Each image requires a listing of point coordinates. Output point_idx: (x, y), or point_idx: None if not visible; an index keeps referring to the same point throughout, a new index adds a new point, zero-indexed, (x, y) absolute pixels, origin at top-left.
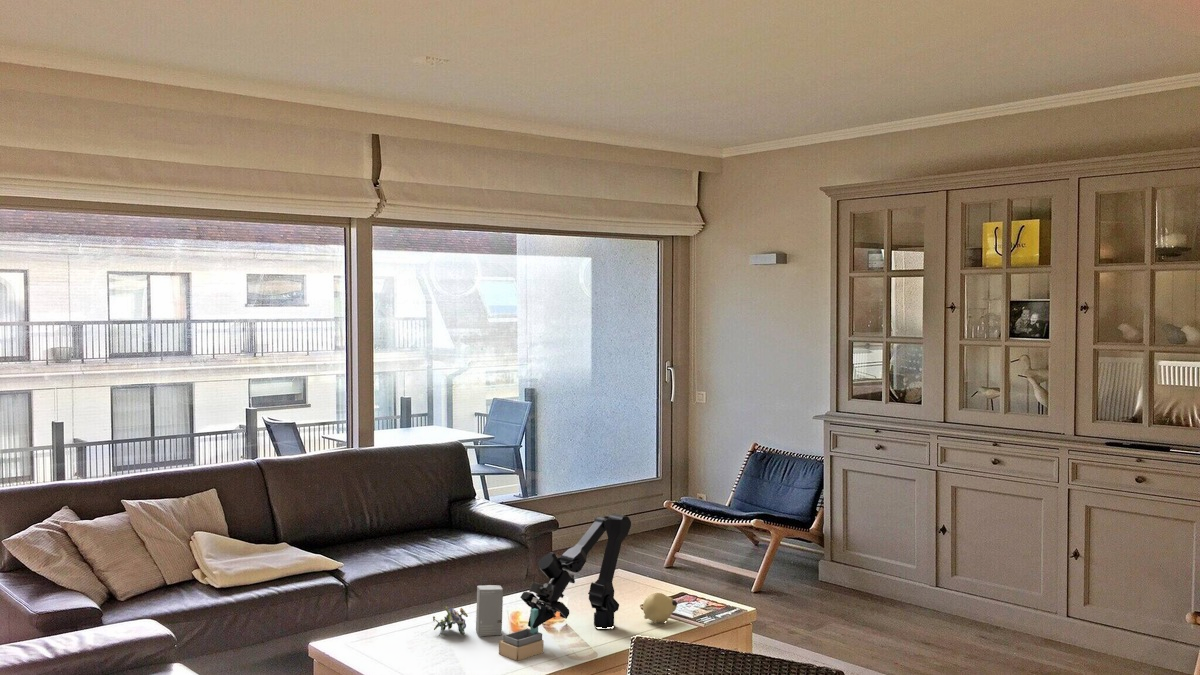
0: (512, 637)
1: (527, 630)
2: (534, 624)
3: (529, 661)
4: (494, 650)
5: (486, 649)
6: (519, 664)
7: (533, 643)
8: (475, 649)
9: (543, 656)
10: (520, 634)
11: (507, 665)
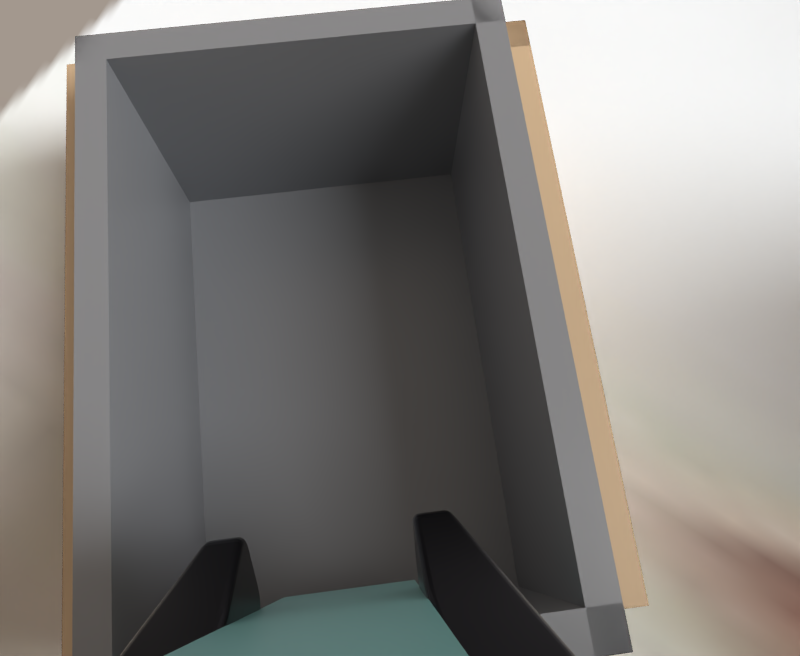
0: (494, 214)
1: (570, 606)
2: (173, 593)
3: (17, 278)
4: (639, 153)
5: (723, 100)
6: (28, 130)
7: (66, 406)
8: (786, 9)
9: (24, 550)
10: (530, 404)
11: (104, 16)
